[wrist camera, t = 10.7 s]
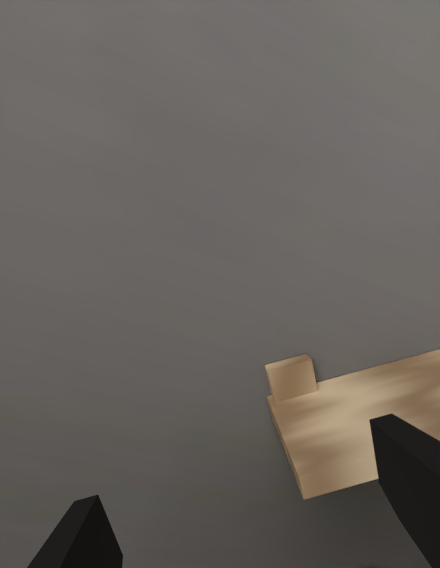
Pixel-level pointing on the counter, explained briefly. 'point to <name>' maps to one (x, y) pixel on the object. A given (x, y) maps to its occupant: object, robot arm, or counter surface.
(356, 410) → the wooden board with feet
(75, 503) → the robot arm
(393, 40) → the counter surface
